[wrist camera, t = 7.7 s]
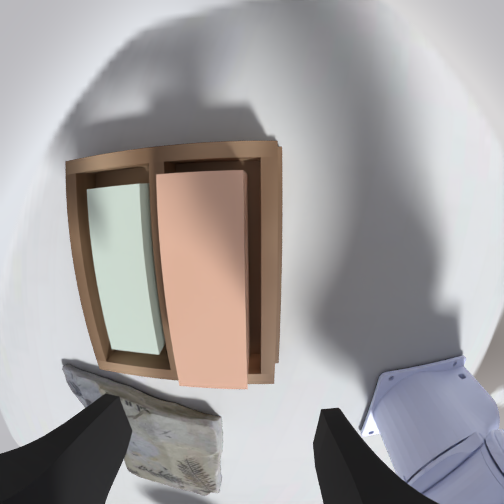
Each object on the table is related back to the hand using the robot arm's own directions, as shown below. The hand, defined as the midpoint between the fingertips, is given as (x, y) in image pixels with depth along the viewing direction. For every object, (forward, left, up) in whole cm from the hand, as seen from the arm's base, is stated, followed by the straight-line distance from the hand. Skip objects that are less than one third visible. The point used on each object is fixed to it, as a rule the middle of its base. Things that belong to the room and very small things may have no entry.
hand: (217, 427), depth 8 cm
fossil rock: (+9, +16, -11) cm, 21 cm away
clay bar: (+1, -3, -9) cm, 10 cm away
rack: (+4, -3, -10) cm, 11 cm away
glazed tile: (+6, -3, -9) cm, 11 cm away
